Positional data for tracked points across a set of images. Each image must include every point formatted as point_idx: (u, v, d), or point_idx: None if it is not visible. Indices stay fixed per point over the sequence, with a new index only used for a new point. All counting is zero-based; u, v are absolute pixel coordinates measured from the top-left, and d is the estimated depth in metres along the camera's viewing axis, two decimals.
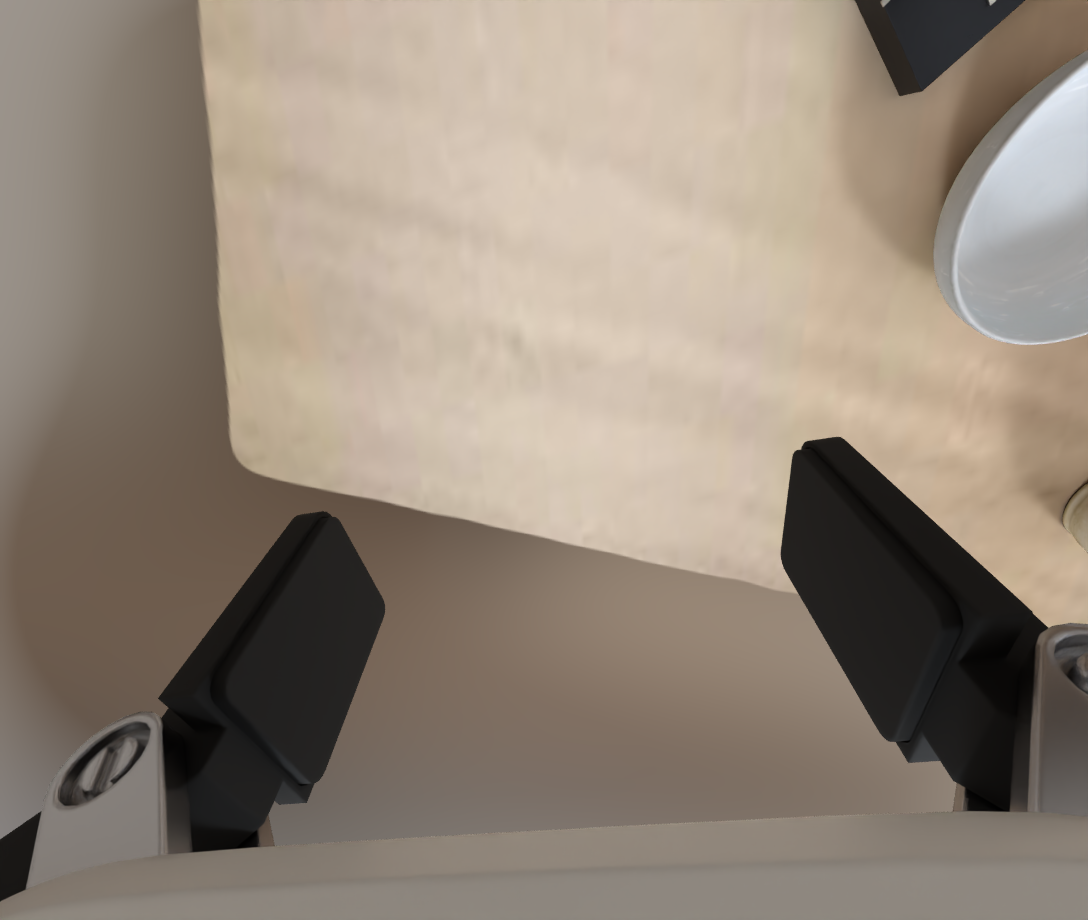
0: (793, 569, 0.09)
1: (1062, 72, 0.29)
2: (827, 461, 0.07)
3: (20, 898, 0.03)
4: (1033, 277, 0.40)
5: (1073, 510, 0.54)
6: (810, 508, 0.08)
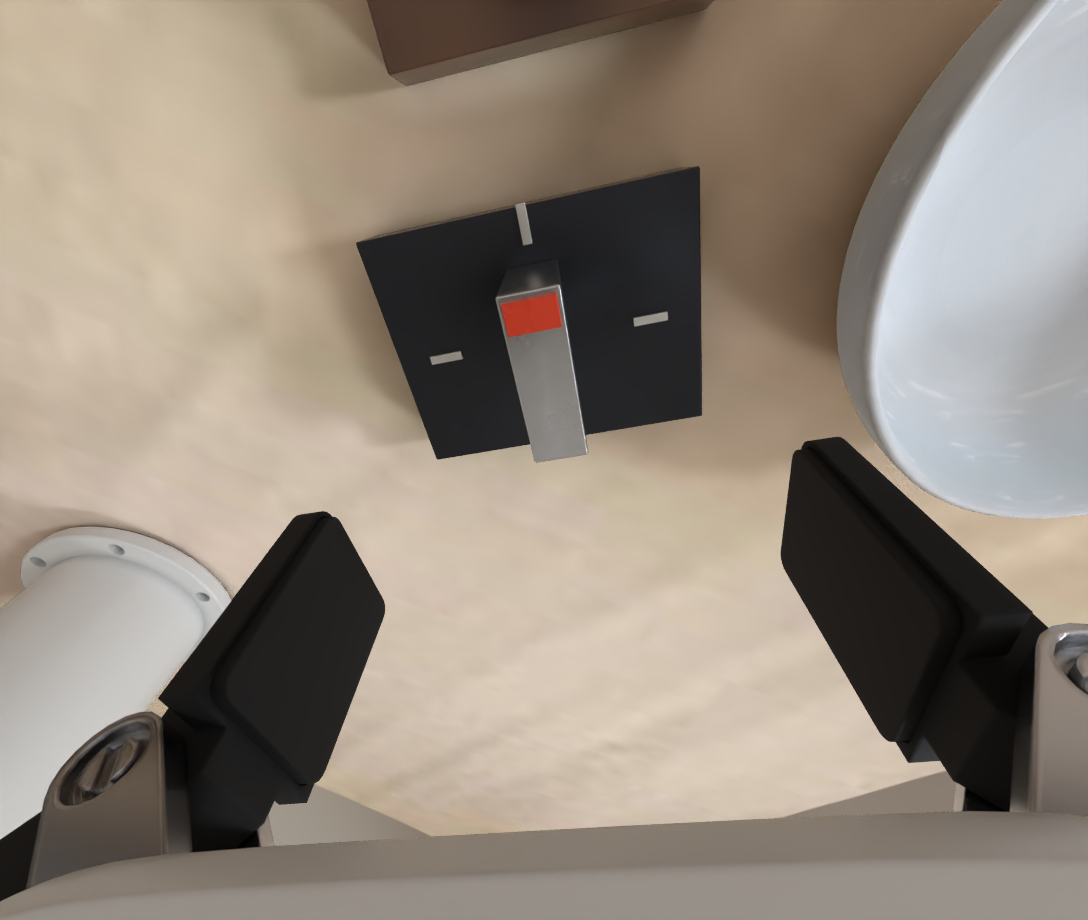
0: (793, 569, 0.09)
1: (855, 309, 0.15)
2: (827, 461, 0.07)
3: (20, 898, 0.03)
4: None
5: None
6: (810, 508, 0.08)
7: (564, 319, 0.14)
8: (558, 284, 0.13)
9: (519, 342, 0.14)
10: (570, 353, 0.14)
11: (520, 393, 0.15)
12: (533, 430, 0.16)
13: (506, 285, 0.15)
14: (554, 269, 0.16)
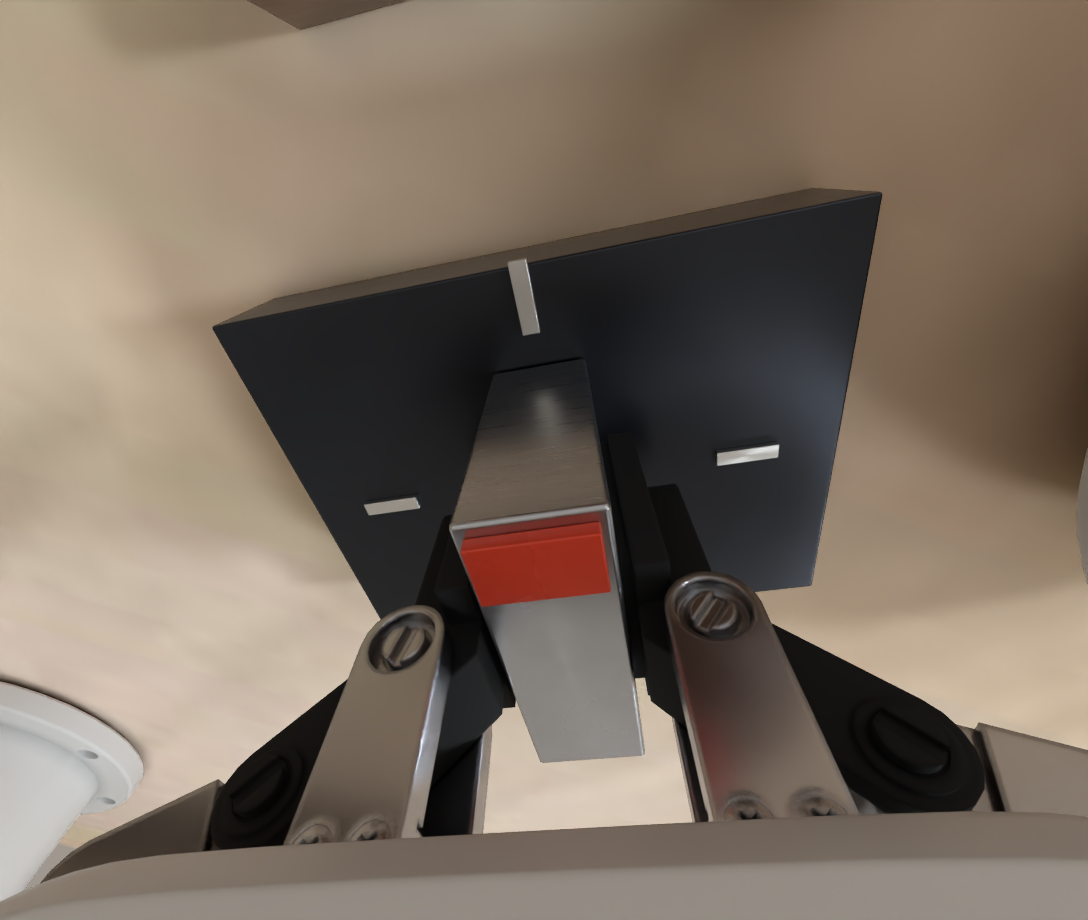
0: None
1: None
2: (609, 451, 0.09)
3: (20, 898, 0.03)
4: None
5: None
6: None
7: (615, 567, 0.06)
8: (605, 502, 0.05)
9: (508, 604, 0.06)
10: (624, 623, 0.06)
11: (511, 678, 0.07)
12: (538, 726, 0.08)
13: (482, 457, 0.07)
14: (585, 406, 0.08)
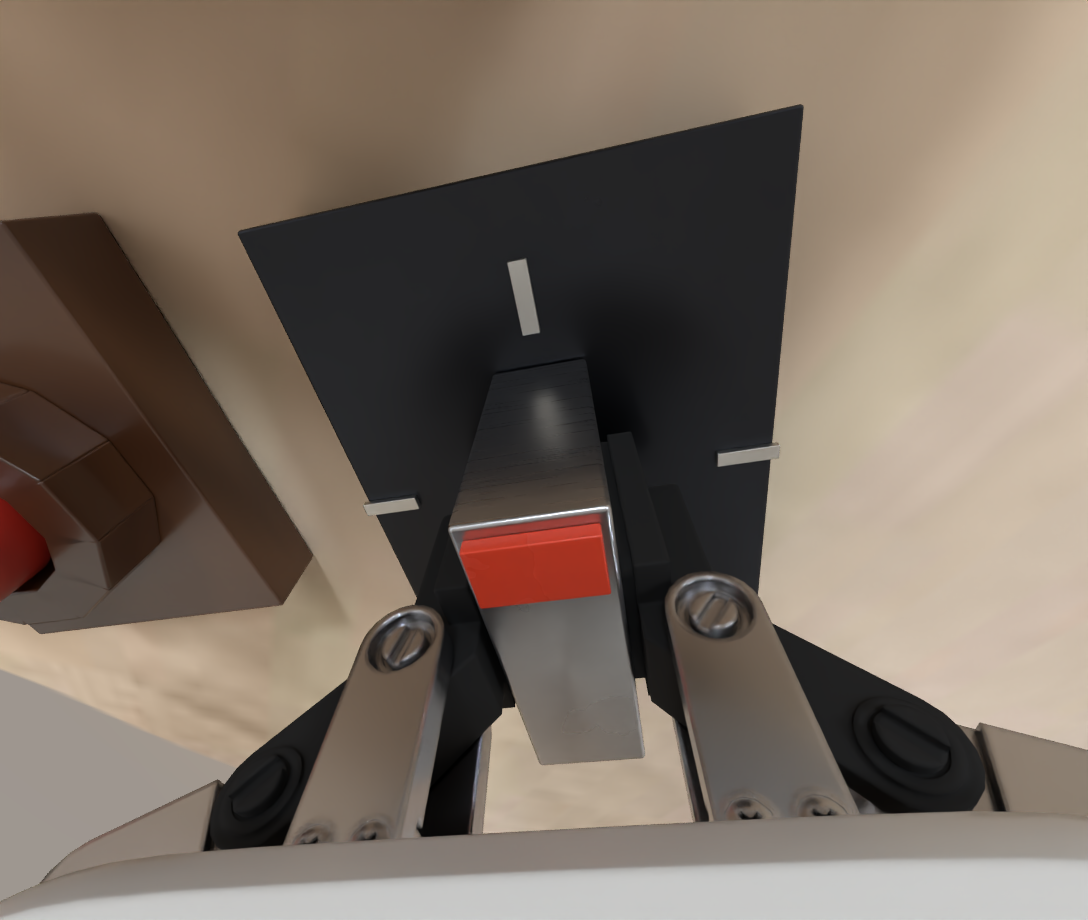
0: None
1: None
2: (610, 451, 0.09)
3: (20, 899, 0.03)
4: None
5: None
6: None
7: (615, 569, 0.06)
8: (605, 503, 0.05)
9: (507, 606, 0.06)
10: (624, 625, 0.06)
11: (511, 680, 0.07)
12: (538, 728, 0.08)
13: (482, 458, 0.07)
14: (585, 407, 0.07)
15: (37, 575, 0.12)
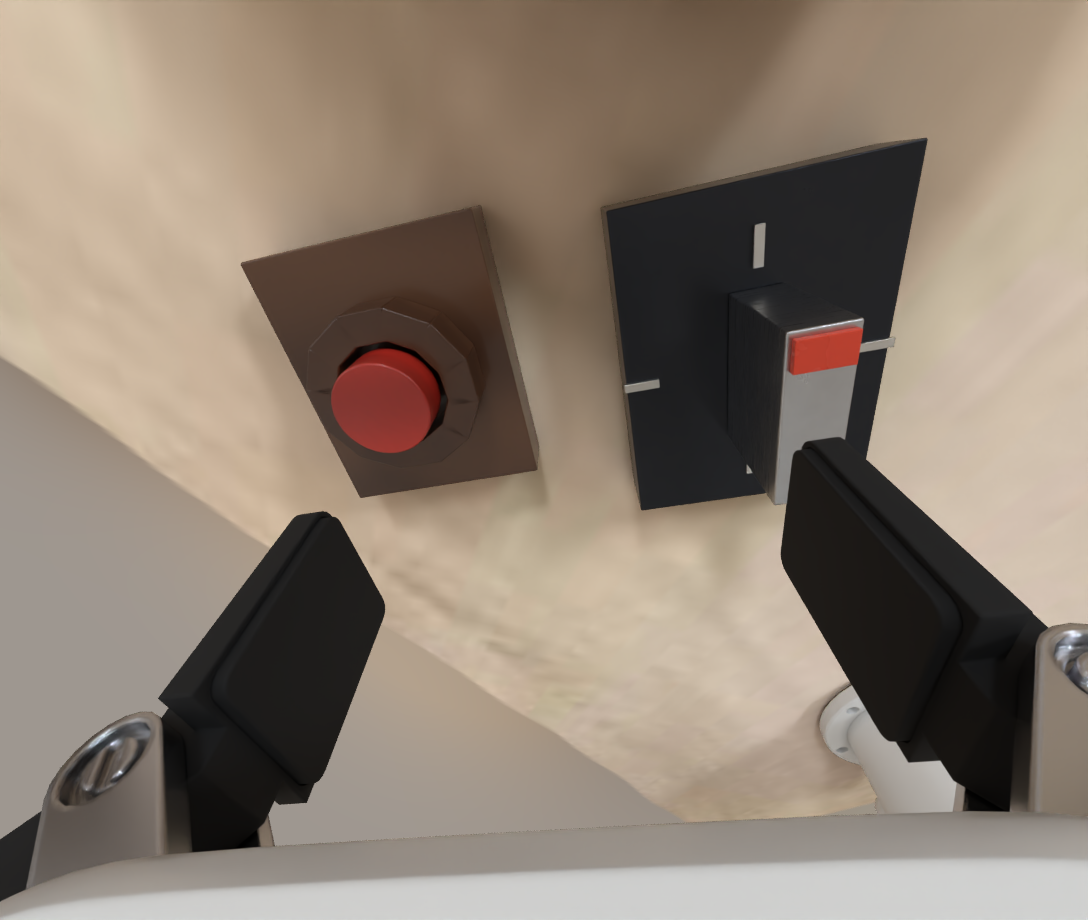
0: (793, 569, 0.09)
1: None
2: (827, 461, 0.07)
3: (20, 898, 0.03)
4: None
5: None
6: (810, 508, 0.08)
7: None
8: (861, 318, 0.12)
9: (798, 379, 0.13)
10: (852, 391, 0.13)
11: (782, 433, 0.14)
12: (783, 472, 0.15)
13: (773, 316, 0.14)
14: (812, 296, 0.14)
15: None
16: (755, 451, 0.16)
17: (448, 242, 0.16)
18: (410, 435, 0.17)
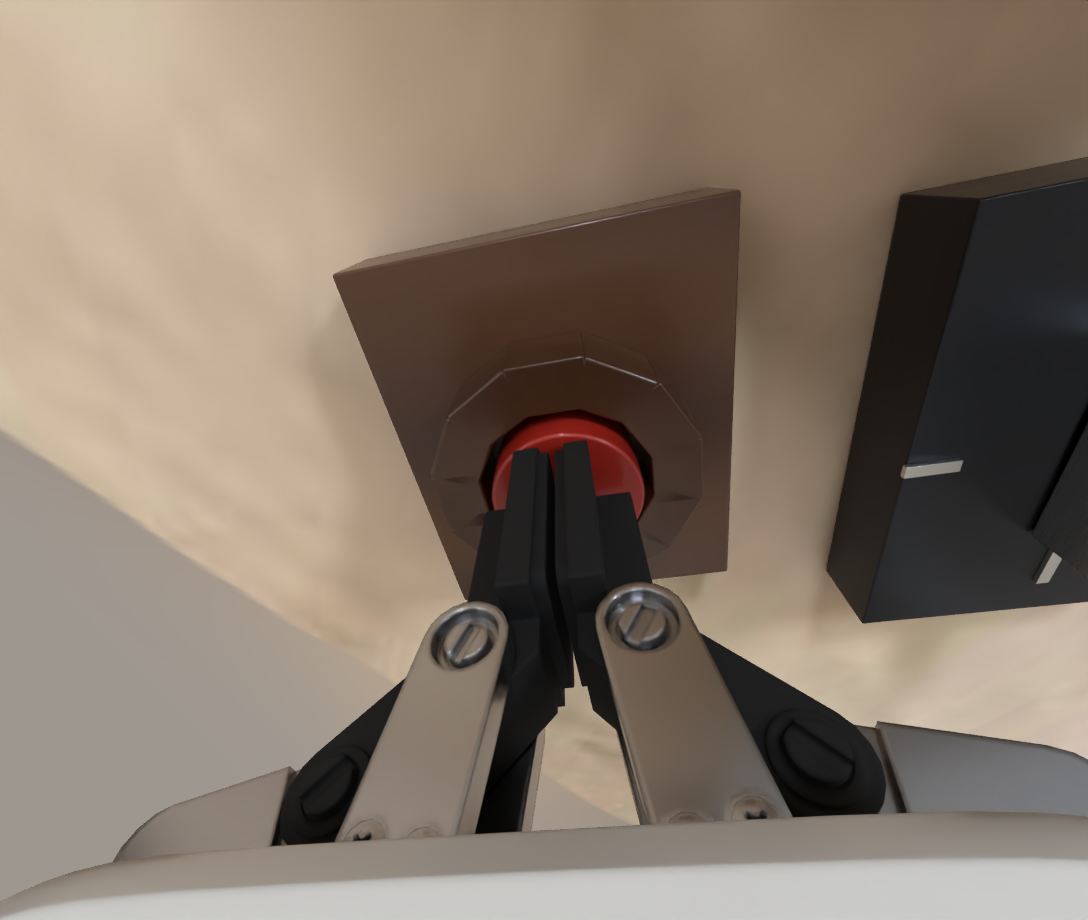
0: None
1: None
2: (564, 460, 0.09)
3: (20, 898, 0.03)
4: None
5: None
6: None
7: None
8: None
9: None
10: None
11: None
12: None
13: None
14: None
15: None
16: None
17: (686, 246, 0.10)
18: None
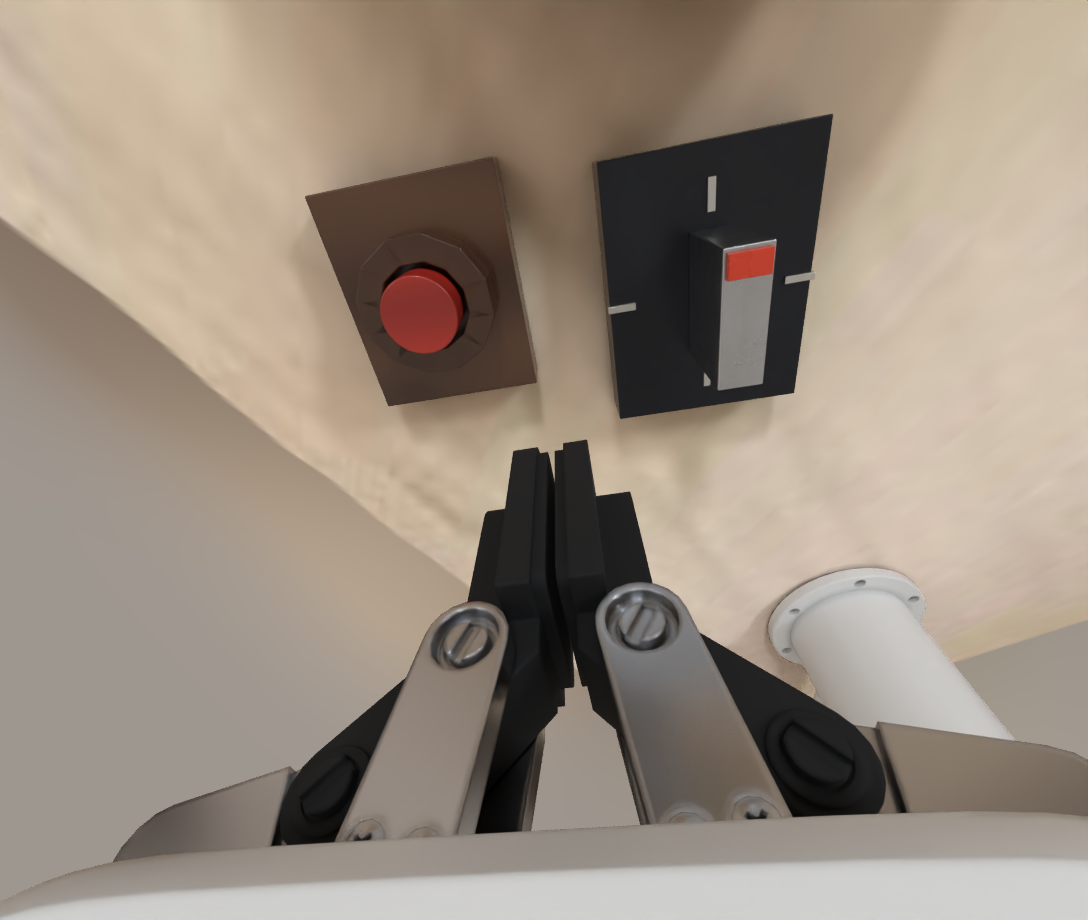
0: None
1: None
2: (564, 460, 0.09)
3: (20, 898, 0.03)
4: None
5: None
6: None
7: (773, 268, 0.18)
8: (774, 239, 0.17)
9: (732, 285, 0.18)
10: (770, 296, 0.18)
11: (722, 329, 0.19)
12: (724, 362, 0.20)
13: (717, 241, 0.19)
14: (747, 230, 0.19)
15: None
16: (706, 354, 0.21)
17: (473, 184, 0.21)
18: (440, 338, 0.21)
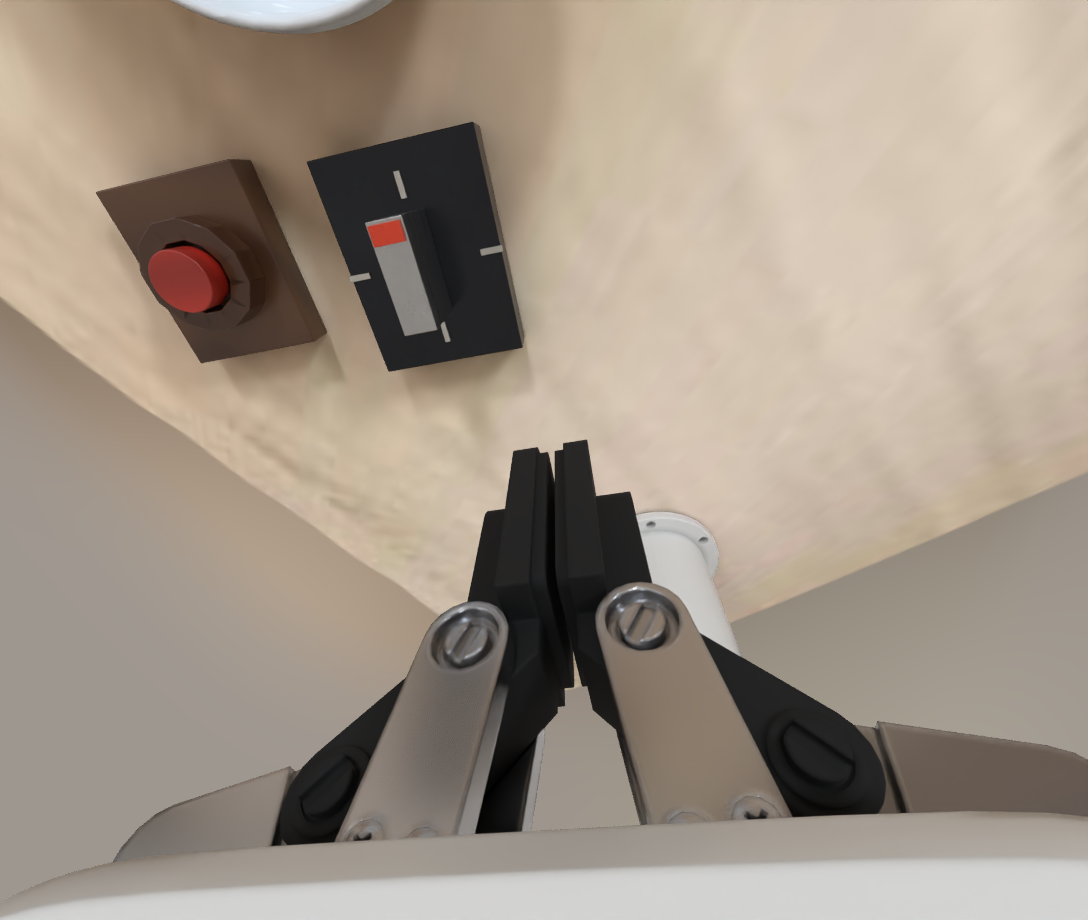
0: None
1: (332, 26, 0.21)
2: (564, 460, 0.09)
3: (20, 898, 0.03)
4: None
5: None
6: None
7: (407, 237, 0.24)
8: (400, 215, 0.23)
9: (382, 251, 0.24)
10: (414, 259, 0.24)
11: (388, 286, 0.25)
12: (400, 312, 0.26)
13: None
14: (412, 211, 0.25)
15: (217, 309, 0.30)
16: None
17: (220, 180, 0.27)
18: (201, 299, 0.28)
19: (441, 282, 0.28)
